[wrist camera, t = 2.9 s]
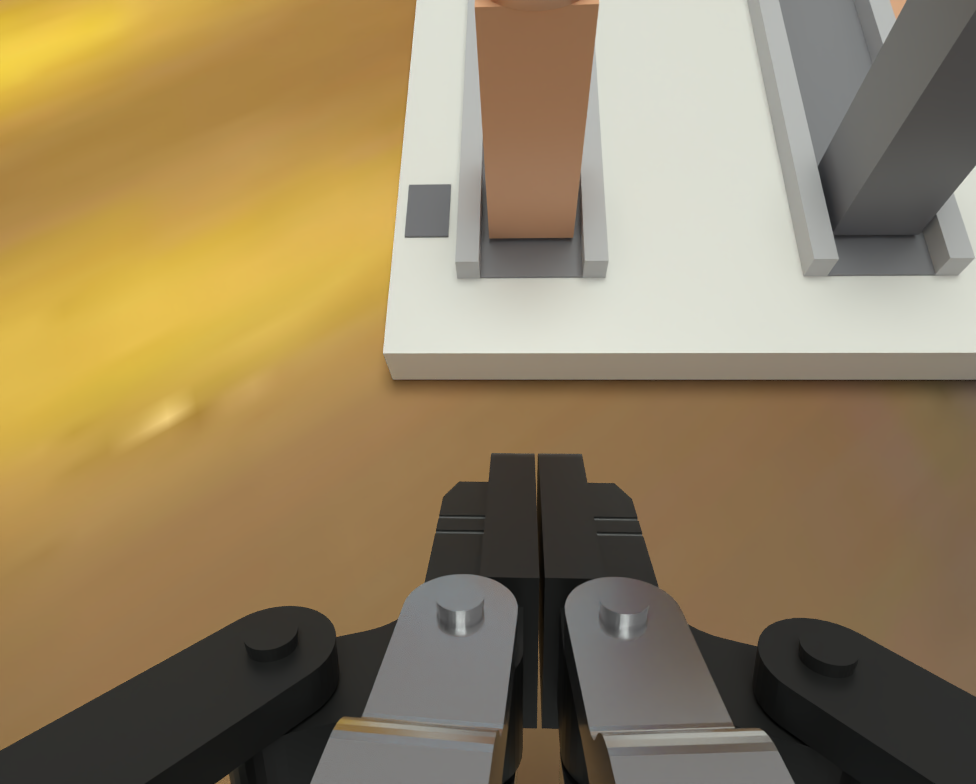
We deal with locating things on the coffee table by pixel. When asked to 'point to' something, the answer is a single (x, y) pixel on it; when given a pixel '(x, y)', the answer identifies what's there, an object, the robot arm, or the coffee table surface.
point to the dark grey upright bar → (907, 125)
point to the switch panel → (674, 214)
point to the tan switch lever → (534, 111)
